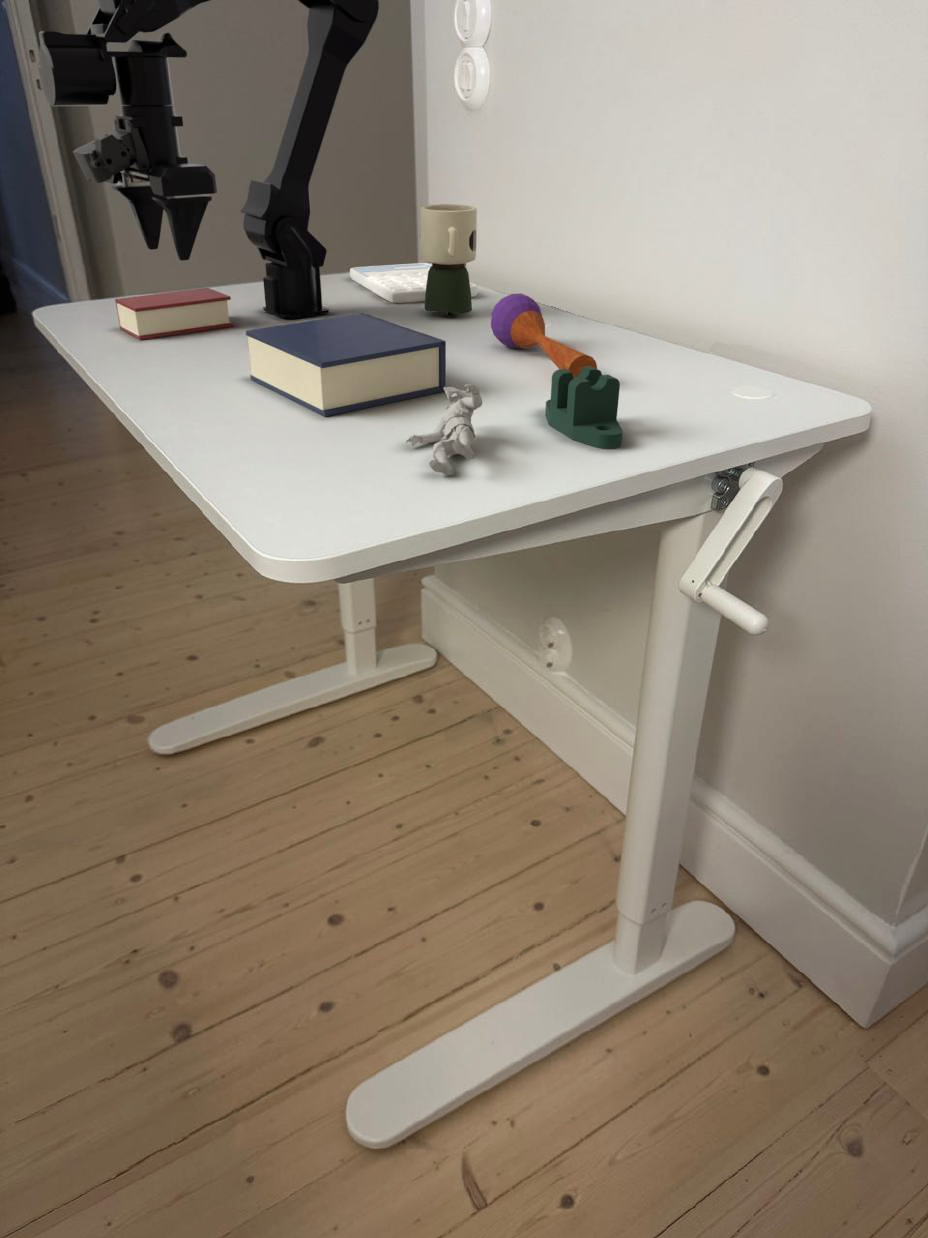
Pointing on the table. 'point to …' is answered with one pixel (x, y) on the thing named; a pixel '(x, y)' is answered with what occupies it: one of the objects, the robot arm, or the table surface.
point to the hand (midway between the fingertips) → (168, 254)
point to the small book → (173, 313)
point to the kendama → (533, 332)
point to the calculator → (397, 281)
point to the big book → (347, 362)
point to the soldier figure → (453, 429)
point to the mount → (585, 407)
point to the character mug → (448, 255)
